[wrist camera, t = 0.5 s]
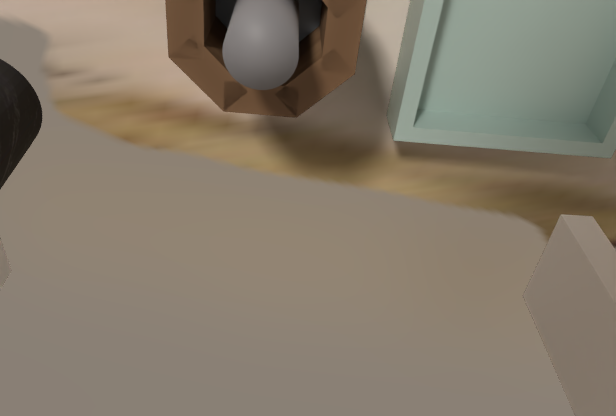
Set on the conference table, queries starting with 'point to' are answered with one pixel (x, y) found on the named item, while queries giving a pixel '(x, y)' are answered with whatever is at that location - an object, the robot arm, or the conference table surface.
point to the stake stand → (265, 38)
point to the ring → (287, 97)
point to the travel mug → (16, 118)
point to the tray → (508, 76)
